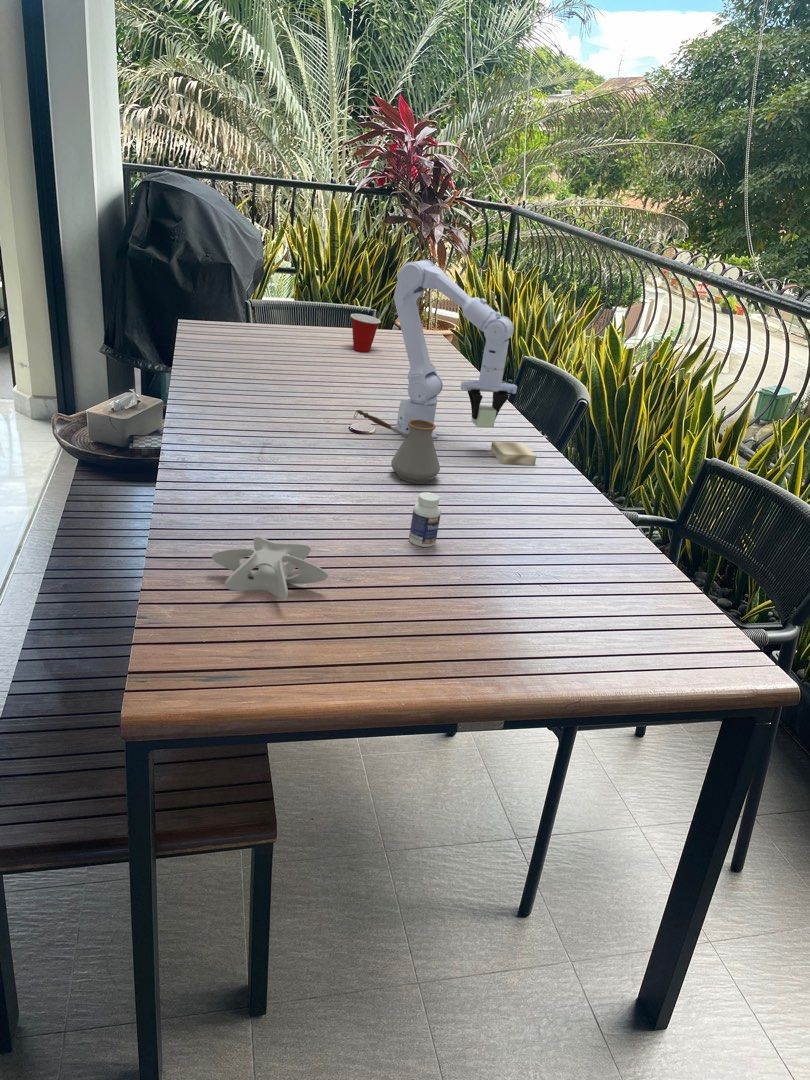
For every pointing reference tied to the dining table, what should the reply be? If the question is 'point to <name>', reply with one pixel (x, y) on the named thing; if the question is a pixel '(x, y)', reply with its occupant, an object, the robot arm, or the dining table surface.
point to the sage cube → (485, 416)
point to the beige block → (513, 453)
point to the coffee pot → (413, 451)
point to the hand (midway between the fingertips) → (483, 418)
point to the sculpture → (269, 567)
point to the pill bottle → (425, 520)
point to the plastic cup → (363, 331)
